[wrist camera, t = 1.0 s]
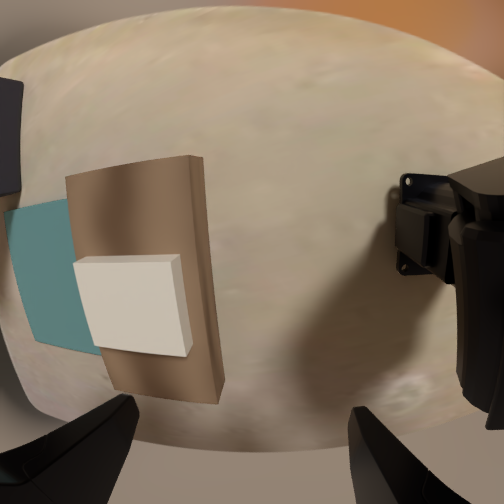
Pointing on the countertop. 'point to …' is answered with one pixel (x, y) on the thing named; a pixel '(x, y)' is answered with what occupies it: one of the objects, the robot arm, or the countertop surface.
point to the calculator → (10, 135)
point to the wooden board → (155, 243)
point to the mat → (48, 275)
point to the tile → (135, 303)
